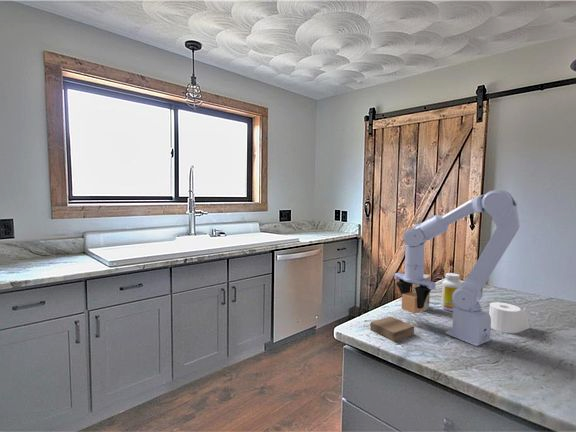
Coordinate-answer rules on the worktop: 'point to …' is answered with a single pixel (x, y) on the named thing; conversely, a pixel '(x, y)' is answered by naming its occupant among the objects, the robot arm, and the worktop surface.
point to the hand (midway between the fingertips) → (413, 305)
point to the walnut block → (392, 328)
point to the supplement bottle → (449, 290)
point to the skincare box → (428, 294)
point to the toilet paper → (508, 318)
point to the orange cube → (410, 302)
